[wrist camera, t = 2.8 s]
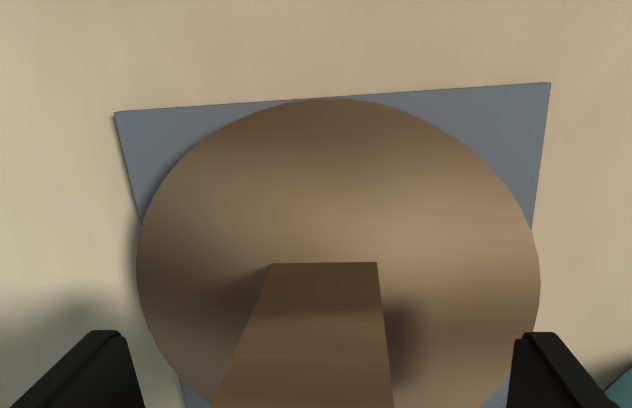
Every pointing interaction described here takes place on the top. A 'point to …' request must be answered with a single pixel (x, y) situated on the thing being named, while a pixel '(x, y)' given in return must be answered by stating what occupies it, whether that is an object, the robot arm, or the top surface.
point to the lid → (337, 263)
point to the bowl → (621, 390)
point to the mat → (430, 105)
